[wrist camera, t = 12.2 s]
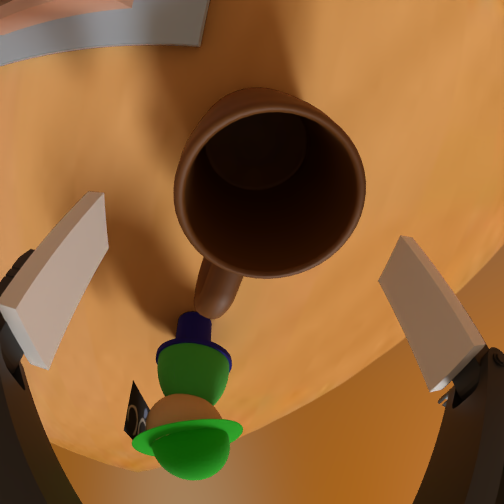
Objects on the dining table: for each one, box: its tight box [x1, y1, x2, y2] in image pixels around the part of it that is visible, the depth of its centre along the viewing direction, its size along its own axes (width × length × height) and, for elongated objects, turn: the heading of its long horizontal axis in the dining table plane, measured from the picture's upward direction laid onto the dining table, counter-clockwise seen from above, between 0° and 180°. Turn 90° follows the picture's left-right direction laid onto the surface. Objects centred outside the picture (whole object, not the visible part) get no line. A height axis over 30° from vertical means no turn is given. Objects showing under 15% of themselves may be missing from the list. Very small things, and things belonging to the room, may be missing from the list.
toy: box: [124, 312, 243, 480], centre depth 22 cm, size 9×9×15 cm
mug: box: [174, 88, 366, 319], centre depth 16 cm, size 12×8×9 cm, turn 155°
